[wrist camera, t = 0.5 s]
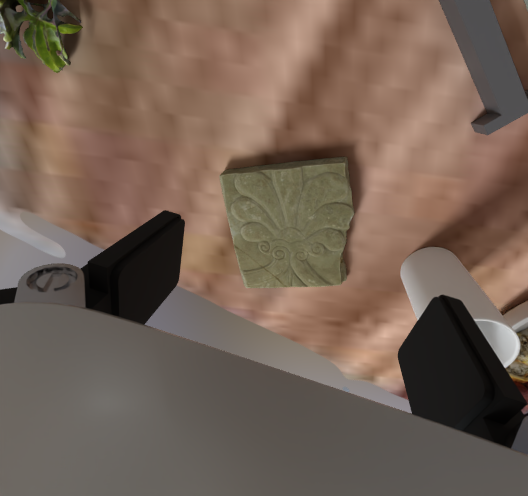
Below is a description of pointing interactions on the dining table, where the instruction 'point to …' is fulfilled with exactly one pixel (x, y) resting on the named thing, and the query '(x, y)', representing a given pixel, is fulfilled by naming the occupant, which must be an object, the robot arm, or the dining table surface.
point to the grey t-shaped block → (487, 62)
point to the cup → (457, 296)
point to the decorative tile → (290, 222)
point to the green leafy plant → (37, 30)
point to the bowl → (524, 366)
